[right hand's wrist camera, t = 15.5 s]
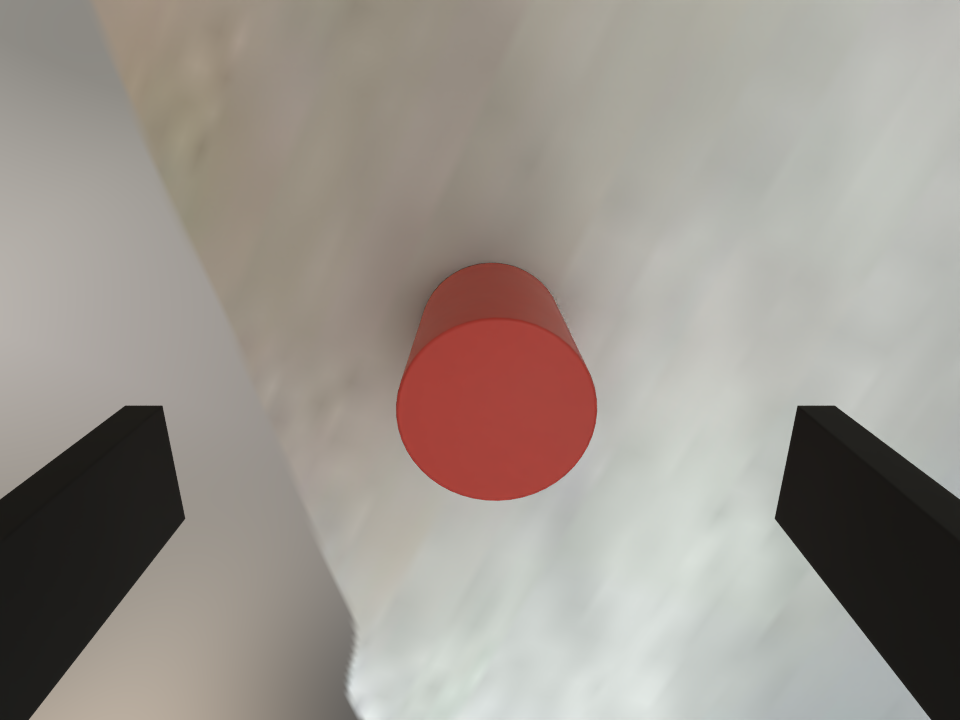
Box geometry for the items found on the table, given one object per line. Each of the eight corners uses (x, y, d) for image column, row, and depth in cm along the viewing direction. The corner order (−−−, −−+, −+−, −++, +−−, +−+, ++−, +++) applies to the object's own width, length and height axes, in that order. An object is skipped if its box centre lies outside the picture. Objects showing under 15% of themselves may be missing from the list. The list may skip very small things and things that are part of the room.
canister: (397, 358, 24) (362, 451, 17) (462, 236, 23) (453, 280, 15) (517, 418, 25) (532, 530, 18) (587, 304, 24) (637, 377, 16)
